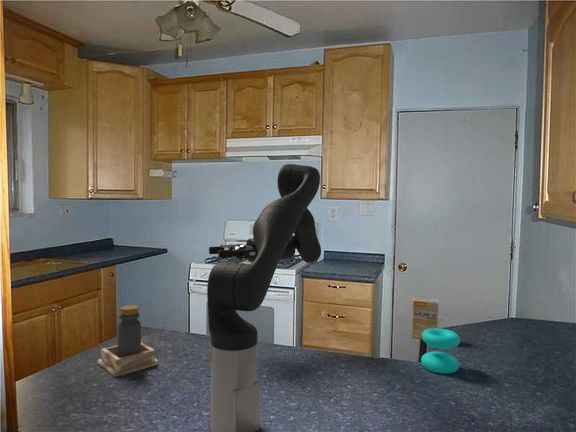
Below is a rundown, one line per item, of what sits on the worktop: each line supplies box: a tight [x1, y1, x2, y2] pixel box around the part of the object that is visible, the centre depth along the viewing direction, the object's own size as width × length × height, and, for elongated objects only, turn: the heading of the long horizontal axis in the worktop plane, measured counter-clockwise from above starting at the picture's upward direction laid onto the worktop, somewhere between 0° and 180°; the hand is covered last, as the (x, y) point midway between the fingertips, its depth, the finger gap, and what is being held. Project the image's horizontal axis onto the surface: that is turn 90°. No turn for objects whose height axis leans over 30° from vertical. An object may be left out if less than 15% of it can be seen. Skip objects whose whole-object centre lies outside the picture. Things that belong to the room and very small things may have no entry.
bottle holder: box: [97, 341, 160, 378], centre depth 115 cm, size 12×12×4 cm
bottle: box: [117, 304, 142, 358], centre depth 114 cm, size 6×6×15 cm
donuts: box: [420, 327, 461, 375], centre depth 116 cm, size 10×10×10 cm
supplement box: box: [411, 297, 439, 341], centre depth 141 cm, size 8×5×13 cm, turn 73°
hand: (214, 252), depth 123 cm, fingers open, 8 cm apart
